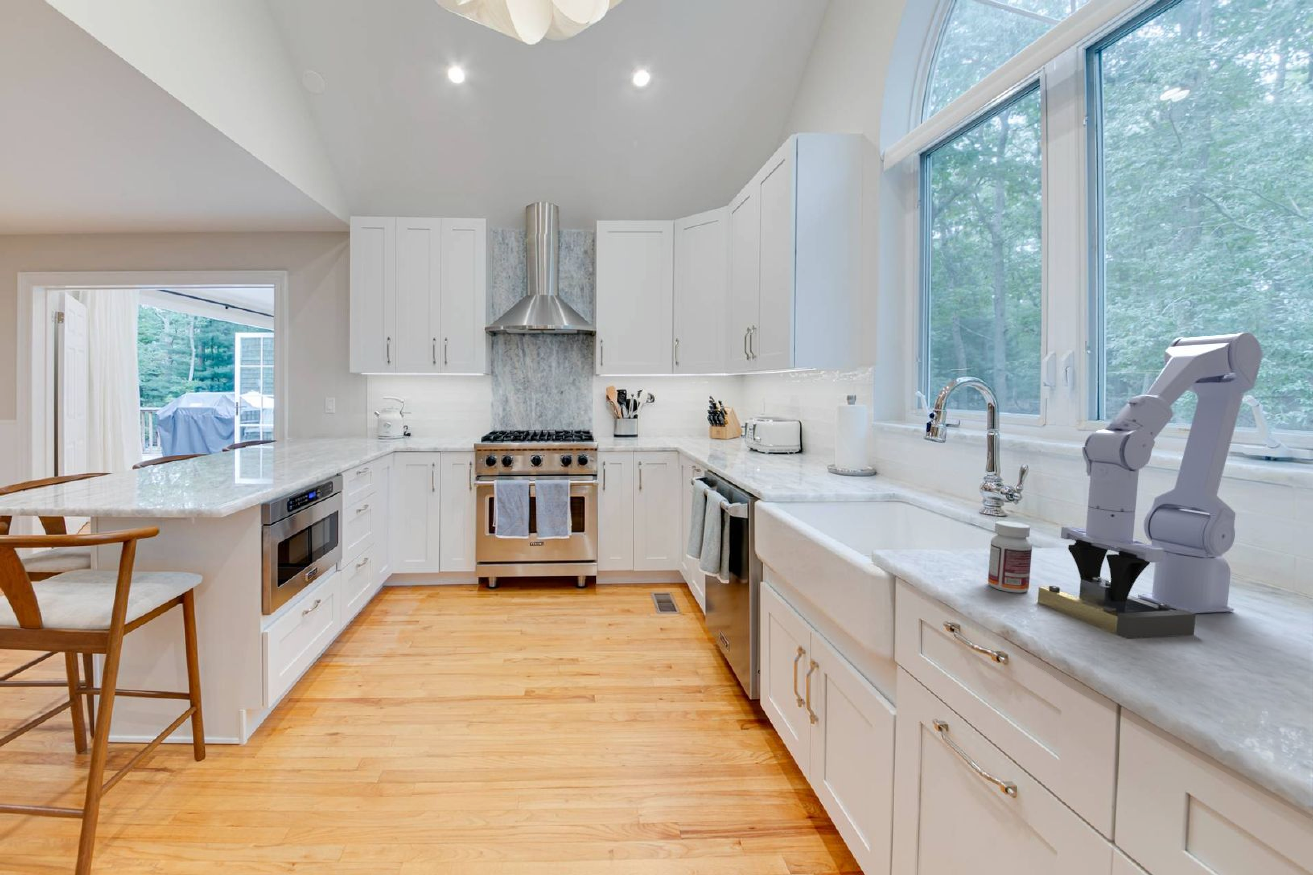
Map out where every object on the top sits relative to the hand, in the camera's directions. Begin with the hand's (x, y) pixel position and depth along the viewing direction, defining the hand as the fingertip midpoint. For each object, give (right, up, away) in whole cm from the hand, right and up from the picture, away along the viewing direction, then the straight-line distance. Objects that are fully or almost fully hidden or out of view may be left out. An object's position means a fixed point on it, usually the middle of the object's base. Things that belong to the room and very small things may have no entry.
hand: (1103, 595), depth 89 cm
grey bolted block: (0, -3, 0) cm, 3 cm away
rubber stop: (+1, -3, -7) cm, 8 cm away
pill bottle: (-8, -2, +12) cm, 14 cm away
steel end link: (+5, -3, +1) cm, 6 cm away
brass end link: (-5, -3, -1) cm, 6 cm away
